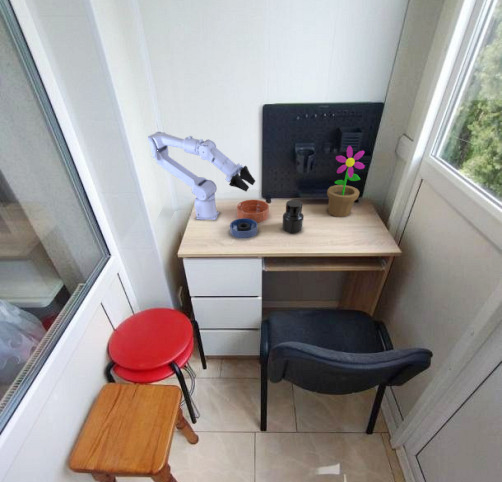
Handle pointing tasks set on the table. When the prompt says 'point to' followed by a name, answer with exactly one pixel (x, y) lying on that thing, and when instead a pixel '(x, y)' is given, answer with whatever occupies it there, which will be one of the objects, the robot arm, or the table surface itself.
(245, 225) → the ring
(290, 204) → the ink bottle
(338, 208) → the flowerpot
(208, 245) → the table surface
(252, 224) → the blue round dish
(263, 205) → the bowl
